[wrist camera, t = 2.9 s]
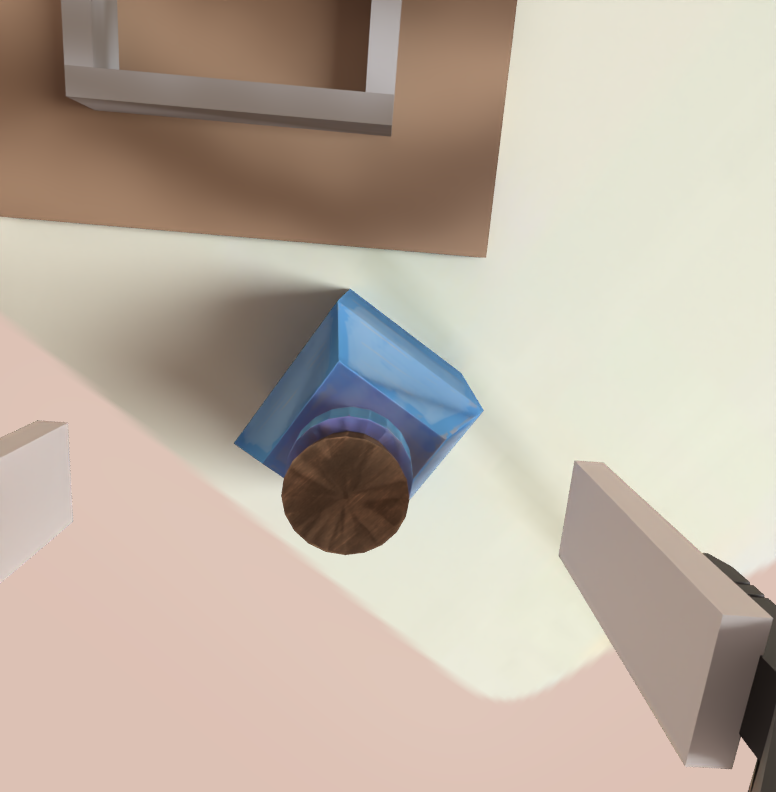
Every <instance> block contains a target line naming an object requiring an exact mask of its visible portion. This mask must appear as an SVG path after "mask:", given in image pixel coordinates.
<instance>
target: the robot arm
mask: <svg viewBox="0 0 776 792" xmlns="http://www.w3.org/2000/svg"><path fill="white" fill-rule="evenodd" d="M69 455H70V454H69V435H68V423H64V422H51V421H38V420H37V421H35V422H33V423H31V424H29V425H27V426H25V427H23V428H20V429H18V430H16V431H14V432H12V433H10V434H7V435H5V436H3V437H1V438H0V583H1V582H2V581H4V580H5V579H6V578H7V577H8V576H10V575H11V574H12V573H13V572H14V571H16V570H17V569H18V568H19V567H20V566H21V565H23V564H24V563H25V562H26V561H27V560H29V559H30V558H31V557H32V556H33V555H34V554H36V553H37V552H38V551H39V550H40V549H41V548H43V547H44V546H45V545H46V544H47V543H49V542H50V541H51V540H52V539H53V538H54V537H55V536H57V535H58V534H59V533H60V532H61V531H63V530H64V529H65V528H66V527H67V526H69V525H70V524H71V523H72V522H73V512H72V495H71V494H72V493H71V473H70V456H69ZM559 557H560V559H561V560H562V562H563V564H564V565H565V567H566V569H567V570H568V572H569V574H570V575H571V577H572V579H573V580H574V582H575V584H576V585H577V587H578V589H579V590H580V592H581V594H582V595H583V597H584V599H585V600H586V602H587V604H588V605H589V607H590V609H591V610H592V612H593V614H594V615H595V617H596V619H597V620H598V622H599V624H600V625H601V627H602V629H603V630H604V632H605V634H606V635H607V637H608V639H609V640H610V642H611V644H612V645H613V647H614V649H615V650H616V652H617V654H618V655H619V657H620V659H621V660H622V662H623V664H624V665H625V667H626V669H627V670H628V672H629V674H630V675H631V677H632V679H633V680H634V682H635V684H636V685H637V687H638V689H639V690H640V692H641V694H642V695H643V697H644V699H645V700H646V702H647V704H648V705H649V707H650V709H651V710H652V712H653V714H654V715H655V717H656V719H657V720H658V722H659V724H660V725H661V727H662V729H663V730H664V732H665V734H666V736H667V737H668V739H669V741H670V742H671V744H672V745H673V747H674V749H675V751H676V752H677V754H678V755H679V757H680V759H681V761H682V762H683V764H684V766H686V767H703V768H704V767H705V768H721V769H732V767H733V763H734V760H735V756H736V752H737V749H738V745H739V741H740V738H741V737H742V738H743V740H744V741H745V742H746V744H747V745H748V746H749V748H750V749H751V750H752V752H753V753H754V754H755V756H756V757H757V762H756V765H755V769H754V772H753V776H752V780H751V783H750V786H749V790H748V792H776V605H775V604H774V603H773V602H772V601H771V600H769V599H768V598H765V597H764V594H763V593H761V592H760V591H759V590H758V589H757V588H756V587H755V586H753V585H750V582H749V581H748V580H747V579H745V578H744V577H743V576H742V575H741V574H740V573H739V572H737V571H736V570H735V569H734V568H733V567H731V566H729V565H728V564H726V563H724V562H722V561H721V560H719V559H717V558H715V557H713V556H712V555H710V554H708V553H701V552H700V551H699V550H698V549H697V548H696V547H695V546H694V545H693V544H692V543H691V542H689V541H688V540H687V539H686V538H685V537H684V536H683V535H682V534H681V533H680V532H679V531H677V530H676V529H675V528H674V527H673V526H672V525H671V524H670V523H669V522H668V521H667V520H665V519H664V518H663V517H662V516H661V515H660V514H659V513H658V512H657V511H656V510H654V509H653V508H652V507H651V506H650V505H649V504H648V503H647V502H646V501H645V500H644V499H642V498H641V497H640V496H639V495H638V494H637V493H636V492H635V491H634V490H633V489H632V488H630V487H629V486H628V485H627V484H626V483H625V482H624V481H623V480H622V479H621V478H620V477H618V476H617V475H616V474H615V473H614V472H613V471H612V470H611V469H610V468H609V467H608V466H606V465H605V464H604V463H601V462H588V461H574V467H573V473H572V479H571V485H570V491H569V497H568V503H567V509H566V514H565V520H564V526H563V532H562V538H561V544H560V550H559Z"/></svg>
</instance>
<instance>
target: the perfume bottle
mask: <svg viewBox="0 0 776 792" xmlns="http://www.w3.org/2000/svg"><path fill="white" fill-rule="evenodd" d="M483 411H484V410H483V409H482V407H481V405H480V404H479V402H478V400H477V399H476V397H475V395H474V394H473V392H472V390H471V389H470V387H469V385H468V384H467V382H466V380H465V379H464V377H463V375H462V374H461V373H460V372H459V371H457V370H456V369H455V368H453V367H452V366H451V365H450V364H448V363H447V362H446V361H444V360H443V359H442V358H440V357H439V356H438V355H436V354H435V353H434V352H432V351H431V350H430V349H429V348H427V347H426V346H425V345H423V344H422V343H421V342H419V341H418V340H417V339H415V338H414V337H413V336H411V335H410V334H409V333H407V332H406V331H405V330H404V329H402V328H401V327H400V326H398V325H397V324H396V323H394V322H393V321H392V320H390V319H389V318H388V317H386V316H385V315H384V314H382V313H381V312H380V311H379V310H377V309H376V308H375V307H373V306H372V305H371V304H369V303H368V302H367V301H365V300H364V299H363V298H361V297H360V296H359V295H358V294H356V293H355V292H354V291H352V290H351V289H350V290H349V291H348V292H346V293H345V294H344V295H343V296H342V297H341V298H340V299H339V300H338V301H337V302H336V304H335V305H334V307H333V308H332V309H331V311H330V312H329V313H328V315H327V316H326V318H325V319H324V320H323V322H322V323H321V324H320V326H319V327H318V329H317V330H316V331H315V333H314V334H313V335H312V337H311V338H310V340H309V341H308V342H307V344H306V345H305V346H304V348H303V349H302V351H301V352H300V353H299V355H298V356H297V357H296V359H295V360H294V361H293V363H292V364H291V366H290V367H289V368H288V370H287V371H286V372H285V374H284V375H283V377H282V378H281V379H280V381H279V382H278V383H277V385H276V386H275V388H274V389H273V390H272V392H271V393H270V394H269V396H268V397H267V399H266V400H265V401H264V403H263V404H262V405H261V407H260V408H259V410H258V411H257V412H256V414H255V415H254V416H253V418H252V419H251V421H250V422H249V423H248V425H247V426H246V427H245V429H244V430H243V432H242V433H241V434H240V436H239V437H238V438H237V440H236V441H235V442H234V444H235V445H237V446H238V447H240V448H241V449H243V450H244V451H245V452H247V453H248V454H250V455H251V456H253V457H254V458H255V459H257V460H258V461H260V462H261V463H263V464H264V465H266V466H267V467H268V468H270V469H271V470H273V471H274V472H276V473H277V474H279V475H280V476H282V477H283V478H284V481H283V488H282V495H281V497H282V502H283V507H284V512H285V515H286V517H287V519H288V520H289V522H290V524H291V526H292V527H293V529H294V531H295V532H297V533H298V534H299V535H300V536H301V537H302V538H303V539H304V540H305V541H306V542H307V543H309V544H311V545H313V546H315V547H317V548H319V549H321V550H323V551H325V552H330V553H337V554H343V555H349V554H357V553H365V552H367V551H369V550H372V549H374V548H376V547H378V546H381V545H383V544H384V543H385V542H386V541H387V540H388V539H389V538H391V537H392V536H393V535H394V534H395V533H396V532H397V531H398V529H399V527H400V525H401V524H402V522H403V520H404V519H405V517H406V513H407V508H408V503H409V500H410V499H411V497H412V496H413V495H414V494H415V493H416V491H417V490H418V489H419V488H420V487H421V485H422V484H423V483H424V482H425V481H426V479H427V478H428V477H429V476H430V475H431V473H432V472H433V471H434V470H435V469H436V467H437V466H438V465H439V464H440V463H441V461H442V460H443V459H444V458H445V457H446V455H447V454H448V453H449V452H450V451H451V449H452V448H453V447H454V446H455V444H456V443H457V442H458V441H459V440H460V438H461V437H462V436H463V435H464V434H465V432H466V431H467V430H468V429H469V428H470V426H471V425H472V424H473V423H474V422H475V420H476V419H477V418H478V417H479V416H480V414H481V413H482V412H483Z"/></svg>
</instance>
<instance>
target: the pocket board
mask: <svg viewBox="0 0 776 792" xmlns="http://www.w3.org/2000/svg"><path fill="white" fill-rule="evenodd" d="M516 6H517V0H0V216H2V217H13V218H25V219H37V220H48V221H60V222H72V223H84V224H96V225H107V226H119V227H131V228H143V229H154V230H166V231H178V232H190V233H201V234H213V235H225V236H237V237H249V238H260V239H272V240H284V241H296V242H307V243H319V244H331V245H343V246H355V247H366V248H378V249H390V250H402V251H413V252H425V253H437V254H449V255H460V256H472V257H486V253H487V245H488V237H489V229H490V220H491V212H492V204H493V196H494V187H495V179H496V171H497V163H498V154H499V146H500V138H501V129H502V121H503V113H504V105H505V96H506V88H507V80H508V72H509V63H510V55H511V47H512V39H513V30H514V22H515V14H516Z"/></svg>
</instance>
